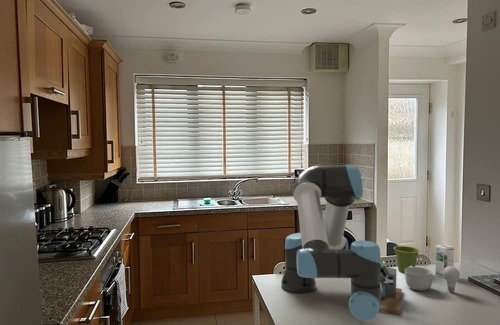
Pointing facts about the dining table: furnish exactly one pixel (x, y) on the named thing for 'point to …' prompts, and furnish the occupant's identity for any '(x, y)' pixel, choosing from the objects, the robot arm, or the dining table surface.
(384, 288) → the teal rectangular block
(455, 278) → the lightbulb
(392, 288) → the grey rectangular block
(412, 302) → the dining table surface
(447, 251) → the syrup box
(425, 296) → the dining table surface
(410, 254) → the plant pot
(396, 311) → the base board
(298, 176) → the robot arm
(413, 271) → the teacup
